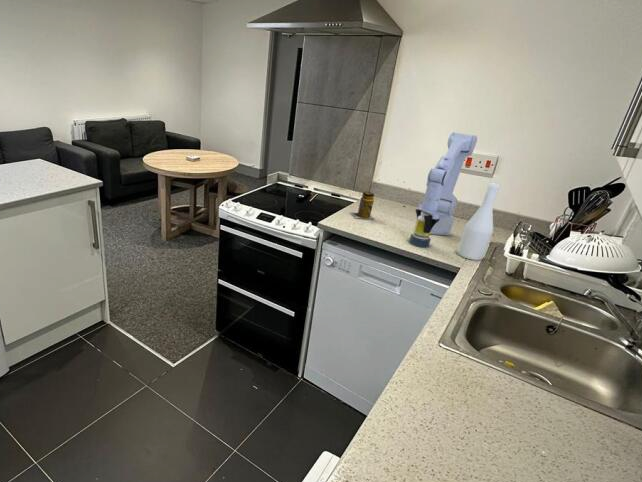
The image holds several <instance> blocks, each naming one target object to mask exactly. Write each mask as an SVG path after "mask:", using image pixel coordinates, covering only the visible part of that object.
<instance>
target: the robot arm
mask: <svg viewBox="0 0 642 482" xmlns="http://www.w3.org/2000/svg"><path fill="white" fill-rule="evenodd" d="M477 141H478V136H477V135H472V134H467V133H466V134H465V133H459V132H455V131H453V132H451V133H450V134H449V137H448V140H447V149H448V150H447V151H446V154H445V155H443V156H441V157H440V159H439V160H438V162H437V163H436V165H435V166H434V168H431V169H430V170H429V172H428V174H427V179H426V180H427V181H426V190H425V193H424V197H423V200H422V202H419V203H418V205H417V208H416V209H415V213H416V219H417V218H418V217H419V216H421V211H424V212H426V213H428V214H430V215H429V216H424V219H425V225H424V233H430V235H437V236H438V235H439V236H441V235H442V236H451V231H452V227H453V224H454V215H453V213H455V210H456V206H457V202H458V199H457V196H455V195H454V190H455V187H456V185H457V181H458V179H459V176H460V174H461V170H462V168H463V165H464V163H465V160H466V159H467V157H471V156H472V155H473V153H474V150H475V147H476V145H477ZM430 231H431V232H430Z"/></svg>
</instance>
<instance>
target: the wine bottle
mask: <svg viewBox="0 0 642 482" xmlns="http://www.w3.org/2000/svg"><path fill="white" fill-rule="evenodd" d="M500 187H501V186H500V183H497V182H489V183H488V185H487V189H486V192H485V195H484V198H483V200H482V203H481V205H480V206H479V207H478V208H477V210H476V211H475V212H474V214H473V215H472V216H471V218H470V219H469V220H468V221H467V222H466V224H465V226H464V229H463V232H462V234H461V238H460V241H459V243H458V247H457V254H458V255H459V256H461V257H462V258H465V259H467V260H471V261H481V260H483V259H484V257H485V255H486V252H487V249H488V247H489V245H490V241H491V238H492V236H493V233H494V216H493V214H494V213H493V211H494V209H493V207H494V203H495V199H496V196H497V194H498V191H500V190H499V189H500Z"/></svg>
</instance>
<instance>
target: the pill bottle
mask: <svg viewBox="0 0 642 482" xmlns="http://www.w3.org/2000/svg"><path fill="white" fill-rule="evenodd" d="M429 215H430V214H428V213H426V212H424V211H421V216H419V217H418V218H417V217H416V222H415V225H414V229H413V233H412V234H413V236H414V237H416V238H418V239H424V240H425V239H428V238H430V235H431V234H430V233H424V225H425V219H424V216H429ZM430 232H431V231H430Z"/></svg>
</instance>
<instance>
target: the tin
mask: <svg viewBox="0 0 642 482" xmlns="http://www.w3.org/2000/svg"><path fill="white" fill-rule="evenodd" d="M408 241H409V244H411V245H413V246H414V247H418V248H428V247H429V246H430V243H431V238H430V237H429V238H428V239H425V240H424V239H418V238H416V237H414V236H413V233H411V234H410V237H409V240H408Z"/></svg>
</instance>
